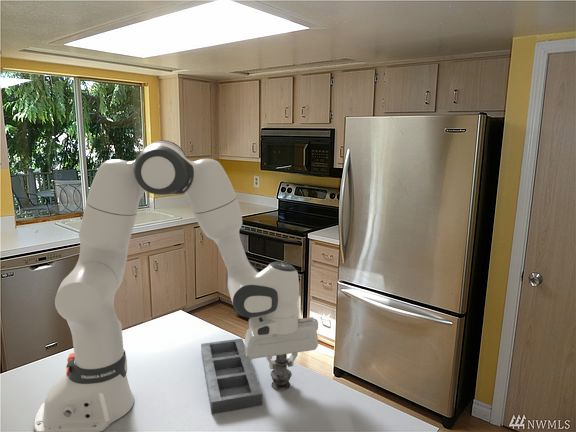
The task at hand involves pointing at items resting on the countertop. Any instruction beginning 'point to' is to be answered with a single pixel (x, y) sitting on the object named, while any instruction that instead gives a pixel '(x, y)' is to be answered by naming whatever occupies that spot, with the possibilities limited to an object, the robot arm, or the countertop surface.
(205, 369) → the grey rectangular frame piece
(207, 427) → the countertop surface
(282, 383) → the grey stone finial
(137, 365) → the countertop surface
